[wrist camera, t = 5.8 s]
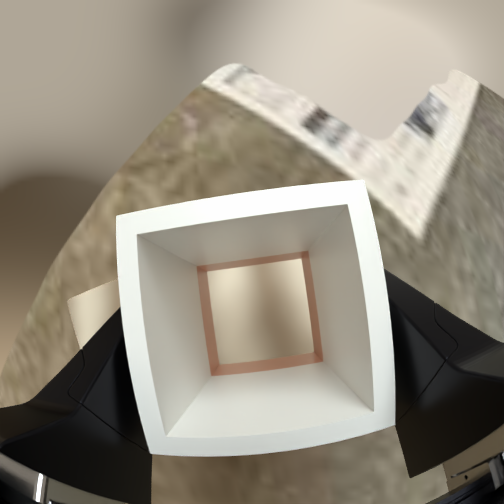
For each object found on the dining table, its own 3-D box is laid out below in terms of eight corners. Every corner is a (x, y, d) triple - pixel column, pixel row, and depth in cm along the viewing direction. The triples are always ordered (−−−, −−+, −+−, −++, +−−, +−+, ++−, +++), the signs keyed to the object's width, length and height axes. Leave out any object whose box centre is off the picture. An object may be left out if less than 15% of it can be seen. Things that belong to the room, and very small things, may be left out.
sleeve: (310, 246, 15) (363, 179, 7) (325, 360, 14) (395, 425, 5) (195, 262, 16) (115, 216, 7) (210, 375, 14) (150, 453, 6)
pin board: (312, 206, 23) (321, 189, 19) (367, 349, 21) (386, 358, 17) (72, 300, 23) (46, 298, 19) (118, 426, 21) (98, 441, 17)
